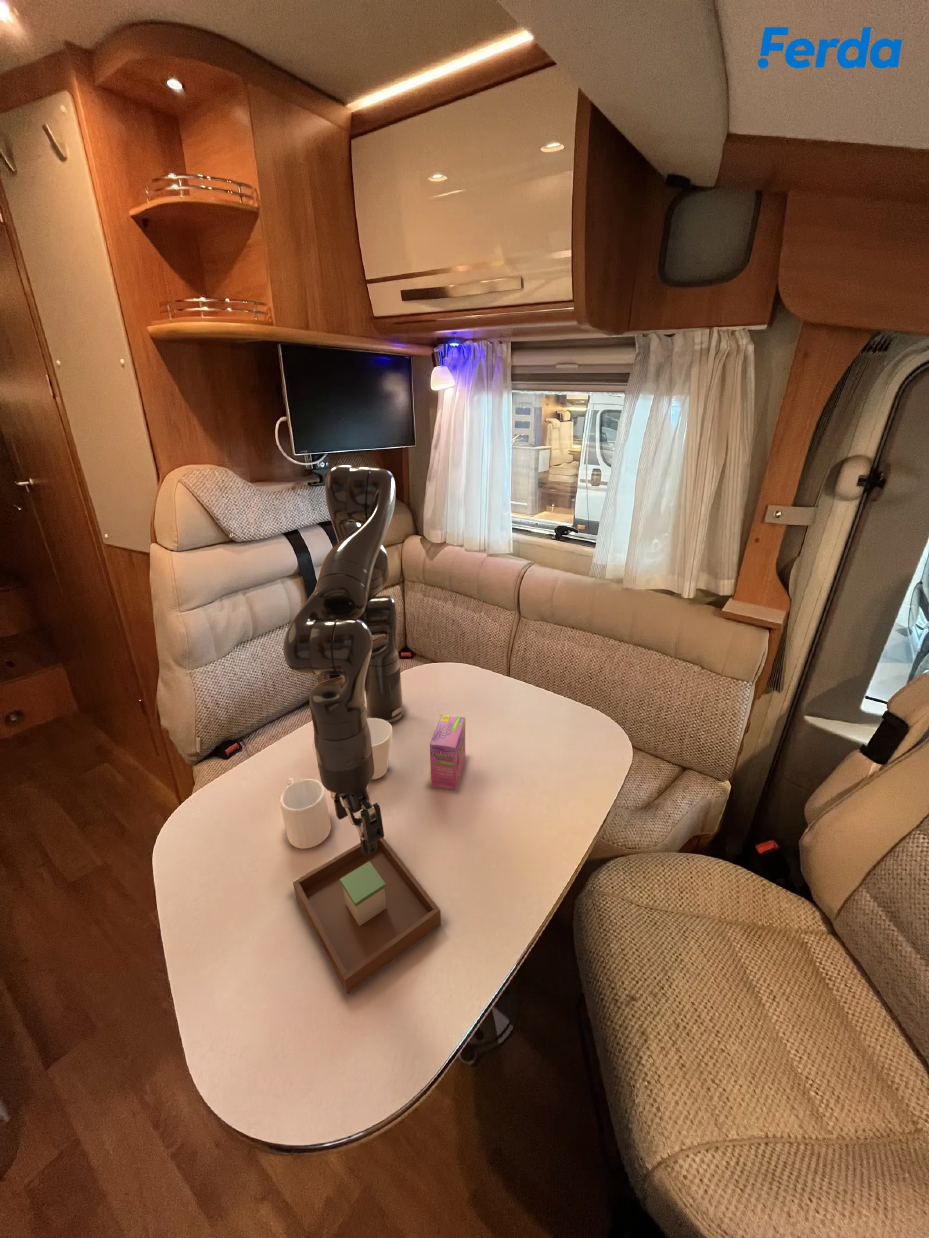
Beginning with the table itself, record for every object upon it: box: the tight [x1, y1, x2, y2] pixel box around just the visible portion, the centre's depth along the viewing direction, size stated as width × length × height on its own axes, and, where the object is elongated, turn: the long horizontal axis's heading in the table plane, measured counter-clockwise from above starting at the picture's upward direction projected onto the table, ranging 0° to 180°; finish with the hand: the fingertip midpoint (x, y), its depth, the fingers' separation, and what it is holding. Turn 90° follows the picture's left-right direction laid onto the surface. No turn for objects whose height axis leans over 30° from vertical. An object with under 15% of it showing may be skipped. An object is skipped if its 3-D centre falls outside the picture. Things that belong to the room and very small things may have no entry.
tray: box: [292, 837, 442, 995], centre depth 82 cm, size 20×17×3 cm
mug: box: [279, 777, 332, 849], centre depth 97 cm, size 8×12×10 cm
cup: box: [367, 717, 393, 780], centre depth 110 cm, size 10×10×11 cm
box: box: [429, 714, 466, 791], centre depth 109 cm, size 10×6×12 cm, turn 168°
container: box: [340, 861, 387, 926], centre depth 81 cm, size 5×5×6 cm
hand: (356, 832), depth 76 cm, fingers open, 8 cm apart
